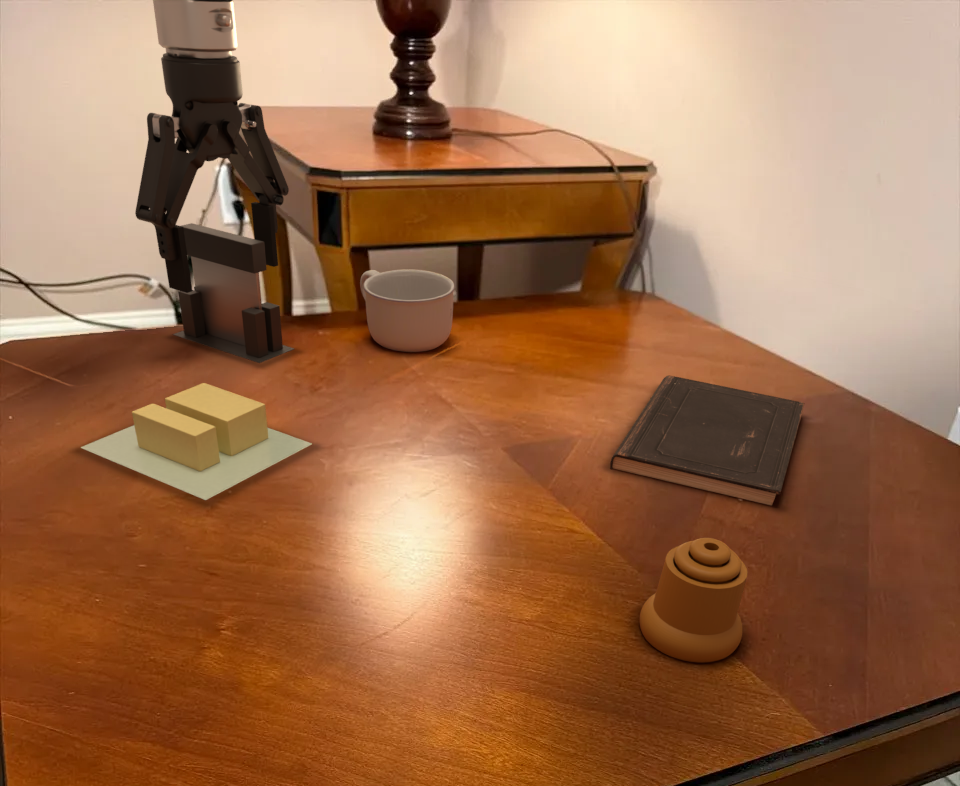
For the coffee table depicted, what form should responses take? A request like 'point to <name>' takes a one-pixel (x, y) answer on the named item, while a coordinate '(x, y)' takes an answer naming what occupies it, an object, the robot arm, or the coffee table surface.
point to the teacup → (408, 308)
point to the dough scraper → (225, 277)
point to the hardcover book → (713, 439)
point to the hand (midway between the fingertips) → (226, 276)
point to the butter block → (224, 415)
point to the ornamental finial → (696, 603)
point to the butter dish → (192, 481)
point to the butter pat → (176, 437)
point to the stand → (257, 326)
